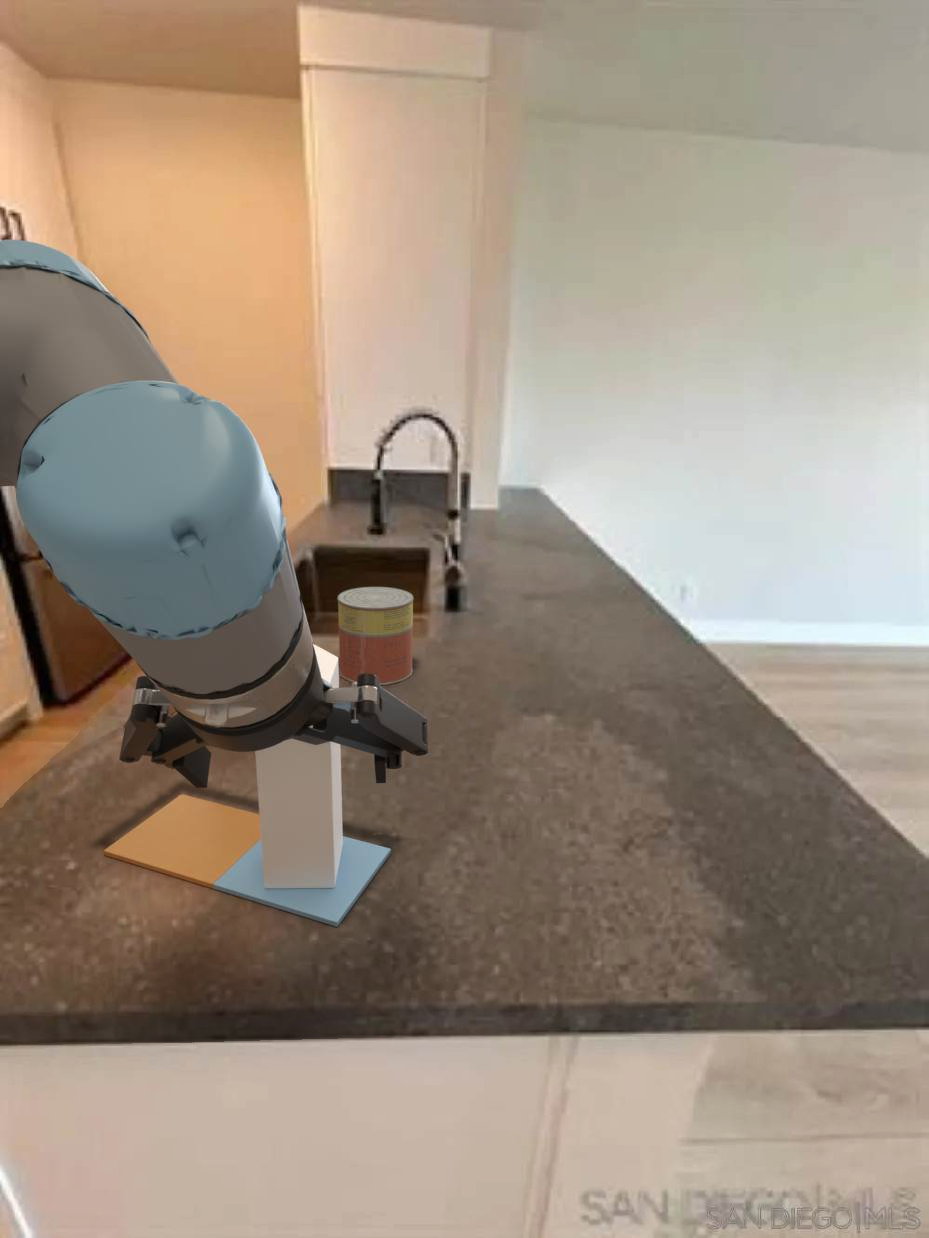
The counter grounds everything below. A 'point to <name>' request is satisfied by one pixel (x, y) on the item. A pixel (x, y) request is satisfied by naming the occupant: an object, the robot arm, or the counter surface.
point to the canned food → (376, 633)
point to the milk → (301, 806)
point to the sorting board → (240, 858)
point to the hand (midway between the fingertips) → (293, 768)
